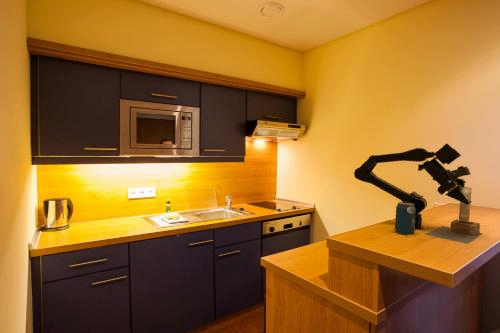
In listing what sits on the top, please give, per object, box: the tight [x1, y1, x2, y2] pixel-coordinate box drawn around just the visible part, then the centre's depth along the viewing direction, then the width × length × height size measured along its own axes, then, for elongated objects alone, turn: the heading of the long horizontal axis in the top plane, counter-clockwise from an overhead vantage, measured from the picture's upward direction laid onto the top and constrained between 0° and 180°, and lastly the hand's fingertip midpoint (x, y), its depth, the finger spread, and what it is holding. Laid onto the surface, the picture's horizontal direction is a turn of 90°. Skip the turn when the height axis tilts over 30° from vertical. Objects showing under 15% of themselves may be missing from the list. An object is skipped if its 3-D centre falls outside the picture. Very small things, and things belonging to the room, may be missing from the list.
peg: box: [458, 186, 472, 221], centre depth 110 cm, size 3×3×12 cm
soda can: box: [394, 201, 416, 236], centre depth 114 cm, size 7×7×12 cm
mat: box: [424, 225, 483, 245], centre depth 114 cm, size 22×14×1 cm, turn 130°
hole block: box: [450, 218, 481, 236], centre depth 117 cm, size 8×8×4 cm
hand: (469, 203), depth 109 cm, fingers closed on peg, 3 cm apart
